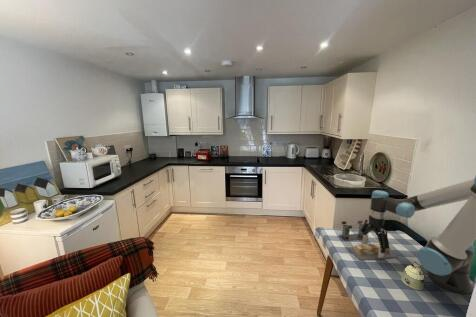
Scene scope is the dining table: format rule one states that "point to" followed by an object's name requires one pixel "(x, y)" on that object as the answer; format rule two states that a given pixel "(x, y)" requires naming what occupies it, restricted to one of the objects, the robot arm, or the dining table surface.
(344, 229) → the stand
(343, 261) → the dining table surface
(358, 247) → the bread loaf
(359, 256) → the mat
